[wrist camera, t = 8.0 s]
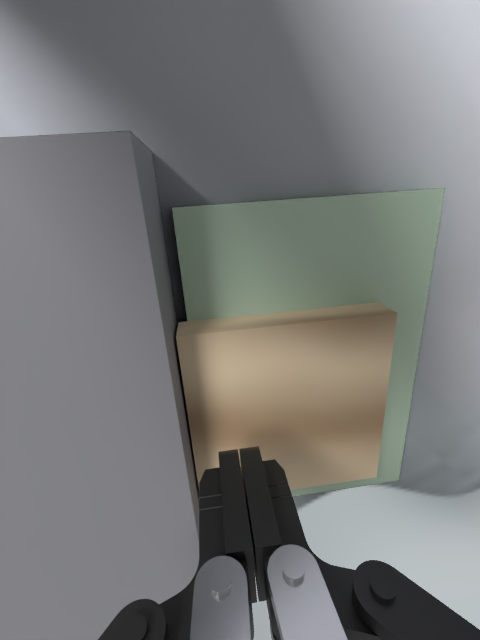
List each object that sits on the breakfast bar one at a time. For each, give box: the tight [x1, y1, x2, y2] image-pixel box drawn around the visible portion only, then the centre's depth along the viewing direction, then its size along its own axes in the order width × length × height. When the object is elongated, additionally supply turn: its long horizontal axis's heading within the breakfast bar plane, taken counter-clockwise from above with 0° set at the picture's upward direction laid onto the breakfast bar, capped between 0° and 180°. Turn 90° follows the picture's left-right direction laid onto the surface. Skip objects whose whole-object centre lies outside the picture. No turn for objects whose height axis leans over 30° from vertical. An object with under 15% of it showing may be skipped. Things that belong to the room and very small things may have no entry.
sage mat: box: [172, 188, 445, 497], centre depth 16 cm, size 16×11×1 cm
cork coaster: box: [176, 302, 397, 490], centre depth 15 cm, size 9×9×2 cm
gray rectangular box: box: [0, 131, 199, 640], centre depth 13 cm, size 22×14×4 cm, turn 4°
